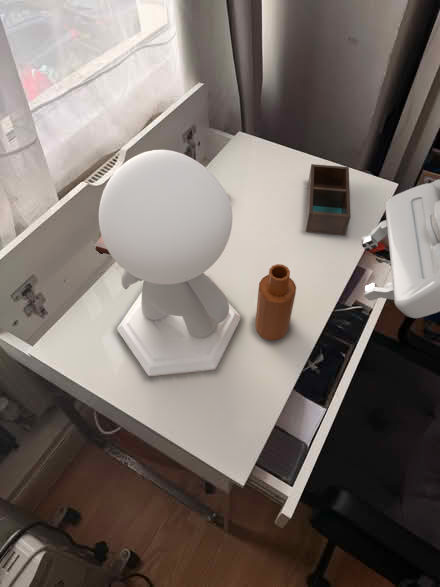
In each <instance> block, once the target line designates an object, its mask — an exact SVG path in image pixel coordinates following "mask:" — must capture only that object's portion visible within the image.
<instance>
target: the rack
mask: <svg viewBox="0 0 440 587" xmlns="http://www.w3.org/2000/svg"><path fill="white" fill-rule="evenodd" d="M307 180H308V181H307V192H306V194H307V195H306V212H305V213H306V215H305V232H306V233H317V234H325V235H336V236H346V234H347V229H348V226H349V223H350V221H351V192H350V191H351V189H350V166H340V165H328V164H314V163H311V165H310V169H309V175H308V179H307Z"/></svg>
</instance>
